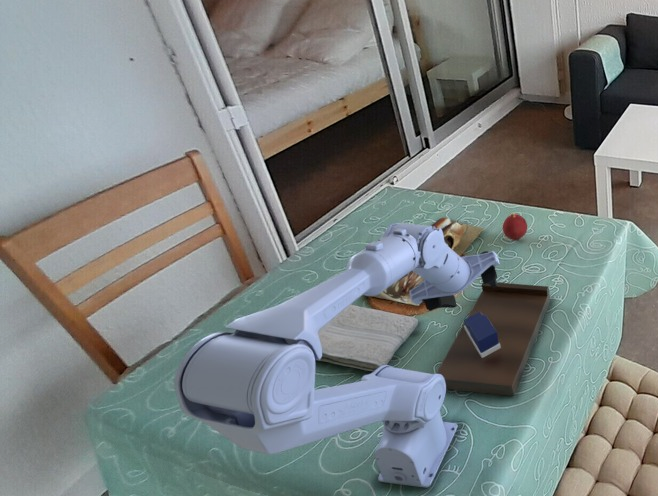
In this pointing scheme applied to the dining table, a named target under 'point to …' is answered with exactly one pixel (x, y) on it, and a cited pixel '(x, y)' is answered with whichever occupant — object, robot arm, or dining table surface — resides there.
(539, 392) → the dining table surface
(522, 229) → the onion
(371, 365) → the washcloth
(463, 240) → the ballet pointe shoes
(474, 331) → the trainer
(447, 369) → the shoe shelf
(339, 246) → the dining table surface
